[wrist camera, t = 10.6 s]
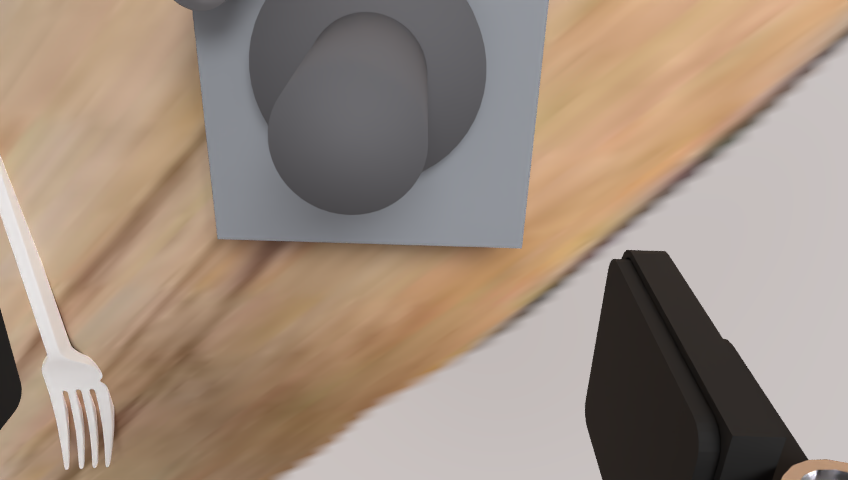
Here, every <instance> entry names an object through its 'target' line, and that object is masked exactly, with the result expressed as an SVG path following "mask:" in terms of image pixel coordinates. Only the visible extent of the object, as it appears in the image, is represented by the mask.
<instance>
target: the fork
mask: <svg viewBox="0 0 848 480" xmlns="http://www.w3.org/2000/svg"><path fill="white" fill-rule="evenodd" d="M0 215H1V218H2V221H3V224H4V227H5V230H6V233H7V236H8V239H9V241H10V244H11V247H12V250H13V253H14V256H15V259H16V262H17V265H18V268H19V271H20V274H21V277H22V280H23V283H24V286H25V289H26V292H27V295H28V298H29V301H30V304H31V307H32V310H33V313H34V316H35V319H36V322H37V325H38V328H39V331H40V334H41V337H42V340H43V343H44V346H45V349H46V352H47V356H46V357H45V359H44V361H43V365H42V374H43V377H44V380H45V383H46V386H47V389H48V392H49V395H50V399H51V402H52V406H53V409H54V413H55V418H56V422H57V427H58V432H59V438H60V443H61V449H62V455H63V461H64V467H65V469H66V470H67V469H69V462H70V431H69V415H68V407H67V404H66V401H65V398H64V395H63V391H67V392H68V395H69V399H70V404H71V408H72V414H73V419H74V424H75V429H76V437H77V447H78V460H79V467H80V469H82V468H83V467H84V462H85V433H84V420H83V411H82V407H81V404H80V401H79V399H78V396H77V393H76V390H80V391H81V393H82V396H83V400H84V405H85V409H86V414H87V419H88V425H89V431H90V440H91V451H92V465H93V468H96V467H97V465H98V424H97V413H96V407H95V404H94V402H93V399H92V396H91V394H90V389H93V390H94V391H95V393H96V397H97V401H98V406H99V410H100V416H101V421H102V427H103V436H104V446H105V464H106V467H109V466H110V462H111V456H112V447H113V437H114V405H113V402H112V399H111V396H110V393H109V390H108V388H107V386H106V385H105V384H104V383H102V382H100V379H101V378H102V373H101V371H100V369H99V367H98V366H97V364H96V363H95V362H94V361H93V360H92V359H91V358H90V357H88V356H87V355H84V354H82V353H80V352H78V351H76V350H75V349H74V348H73V347H72V346H71V344H70V342H69V339H68V336H67V333H66V330H65V328H64V325H63V322H62V319H61V316H60V313H59V310H58V307H57V305H56V302H55V299H54V296H53V293H52V290H51V287H50V284H49V281H48V278H47V276H46V273H45V270H44V267H43V264H42V262H41V259H40V256H39V254H38V251H37V249H36V246H35V244H34V241H33V238H32V236H31V233H30V231H29V228H28V226H27V223H26V220H25V218H24V215H23V213H22V210H21V208H20V205H19V202H18V200H17V197H16V195H15V192H14V189H13V187H12V184H11V182H10V179H9V176H8V174H7V171H6V169H5V166H4V163H3V161H2V158H1V155H0Z"/></svg>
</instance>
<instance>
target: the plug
mask: <svg viewBox="0 0 848 480" xmlns="http://www.w3.org/2000/svg"><path fill="white" fill-rule="evenodd" d="M249 72H250V79H251V85H252V89H253V92H254V96H255V100H256V102H257V104H258V107H259V109H260V111H261V114H262V116H263V117H264V119H265V121H266V123H267V124H268V145H269V151H270V155H271V158H272V161H273V163H274V166H275V168H276V170H277V172H278V173H279V175H280V177H281V178H282V180H283V181H284V182H285V184H286V185H287V186H288V187H289V188H290V189H291V190H292V191H293V192H294V193H295V194H296V195H298V196H299V197H300V198H301V199H303V200H304V201H306V202H307V203H309V204H311V205H313V206H315V207H317V208H319V209H322V210H325V211H328V212H332V213H336V214H344V215H361V214H367V213H372V212H375V211H379V210H381V209H384V208H386V207H388V206H390V205H392V204H393V203H395V202H397V201H398V200H399V199H401V198H402V197H403V196H404V195H405V194H406V193H407V192H408V191H409V190H410V189H411V188H412V187H413V185H414V184H415V183H416V181H417V180H418V178H419V176H420V174H421V172H423V171H425V170H426V169H428V168H430V167H432V166H433V165H435V164H437V163H438V162H439V161H441V160H442V159H443V158H445V157H446V156H447V155H448V154H449V153H450V152H451V151H452V150H453V149H454V148H455V147H456V146H457V145H458V144H459V143H460V142H461V140H462V139H463V138H464V136H465V135H466V134H467V132H468V131H469V129H470V127H471V126H472V124H473V122H474V120H475V118H476V116H477V113H478V111H479V109H480V106H481V102H482V99H483V95H484V90H485V83H486V54H485V46H484V42H483V38H482V34H481V31H480V28H479V25H478V23H477V20H476V18H475V15H474V13H473V10H472V9H471V7H470V5H469V3H468V2H467V0H265V2H264V4H263V5H262V7H261V9H260V12H259V14H258V16H257V19H256V21H255V24H254V28H253V32H252V36H251V41H250V49H249Z"/></svg>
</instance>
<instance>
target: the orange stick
mask: <svg viewBox="0 0 848 480" xmlns="http://www.w3.org/2000/svg"><path fill="white" fill-rule="evenodd" d="M174 1H176V2H177V3H178V4H180V5H181V6H183V7H185V8H188V9H191V10H195V11H207V10H211V9H214V8H216V7H218V6H220V5H221V4H223V3H224V2H226V1H227V0H174Z"/></svg>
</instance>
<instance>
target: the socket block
mask: <svg viewBox="0 0 848 480" xmlns="http://www.w3.org/2000/svg"><path fill="white" fill-rule="evenodd" d="M264 2H265V0H227V1H226V2H224V3H223V4H221V5H220V6H218V7H216V8H214V9H211V10H207V11H195V10H192V11H193V20H194V29H195V38H196V47H197V56H198V65H199V74H200V83H201V92H202V102H203V111H204V120H205V129H206V138H207V147H208V156H209V165H210V174H211V183H212V192H213V201H214V210H215V219H216V228H217V237H218V239H233V240H266V241H298V242H331V243H364V244H397V245H430V246H462V247H495V248H522V241H523V232H524V223H525V214H526V205H527V196H528V186H529V177H530V168H531V159H532V150H533V141H534V131H535V122H536V113H537V104H538V95H539V86H540V76H541V67H542V58H543V49H544V40H545V31H546V21H547V12H548V3H549V0H467V2H468V3H469V5H470V7H471V9H472V10H473V13H474V15H475V18H476V20H477V23H478V25H479V28H480V31H481V34H482V38H483V42H484V46H485V54H486V83H485V90H484V95H483V99H482V102H481V106H480V109H479V111H478V113H477V116H476V118H475V120H474V122H473V124H472V126H471V127H470V129H469V131H468V132H467V134H466V135H465V136H464V138H463V139H462V140H461V142H460V143H459V144H458V145H457V146H456V147H455V148H454V149H453V150H452V151H451V152H450V153H449V154H448V155H447V156H446V157H445V158H443V159H442V160H441V161H439V162H438V163H437V164H435V165H433V166H432V167H430V168H428V169H426V170H425V171H423V172H421V174H420V176H419V178H418V180H417V181H416V183H415V184H414V185H413V187H412V188H411V189H410V190H409V191H408V192H407V193H406V194H405V195H404V196H403V197H402V198H401V199H399V200H398V201H397V202H395V203H393V204H392V205H390V206H388V207H386V208H384V209H381V210H379V211H375V212H372V213H367V214H361V215H344V214H336V213H332V212H328V211H325V210H322V209H319V208H317V207H315V206H313V205H311V204H309V203H307V202H306V201H304V200H303V199H301V198H300V197H299V196H298V195H296V194H295V193H294V192H293V191H292V190H291V189H290V188H289V187H288V186H287V185H286V184H285V182H284V181H283V180H282V178H281V177H280V175H279V173H278V172H277V170H276V168H275V166H274V163H273V161H272V158H271V155H270V151H269V145H268V124H267V123H266V121H265V119H264V117H263V116H262V114H261V111H260V109H259V107H258V104H257V102H256V100H255V96H254V92H253V89H252V85H251V79H250V72H249V49H250V41H251V36H252V32H253V28H254V24H255V21H256V19H257V16H258V14H259V12H260V9H261V7H262V5H263V4H264Z"/></svg>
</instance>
